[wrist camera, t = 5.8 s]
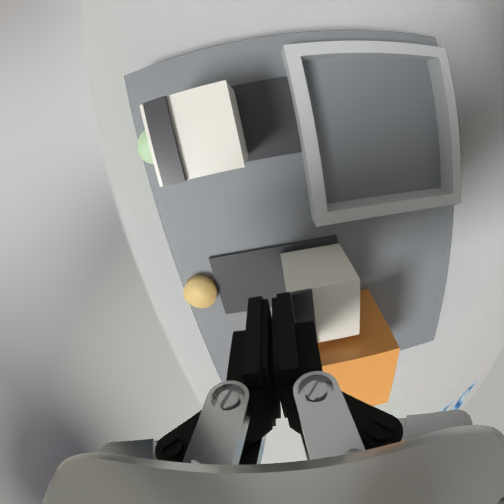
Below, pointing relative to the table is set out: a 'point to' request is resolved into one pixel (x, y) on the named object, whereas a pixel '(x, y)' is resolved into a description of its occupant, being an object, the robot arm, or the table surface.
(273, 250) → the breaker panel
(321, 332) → the cube with dark stripe
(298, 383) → the robot arm
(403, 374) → the table surface
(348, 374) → the cap
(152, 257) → the table surface
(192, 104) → the toggle
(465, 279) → the table surface
